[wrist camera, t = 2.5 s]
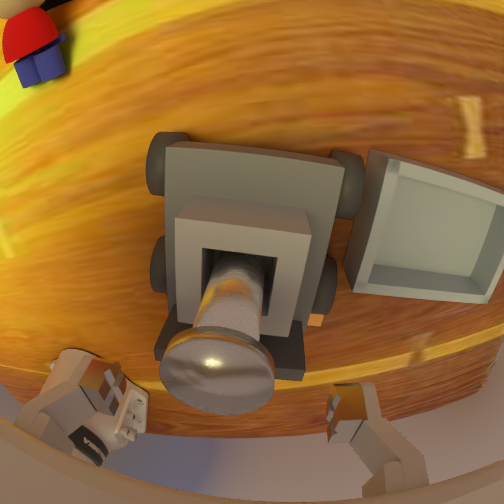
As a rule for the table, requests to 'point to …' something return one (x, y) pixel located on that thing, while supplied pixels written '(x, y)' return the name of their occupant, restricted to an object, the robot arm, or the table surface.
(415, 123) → the table surface
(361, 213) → the tray
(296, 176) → the trolley
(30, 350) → the table surface
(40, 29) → the toy
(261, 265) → the pin
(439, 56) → the table surface
